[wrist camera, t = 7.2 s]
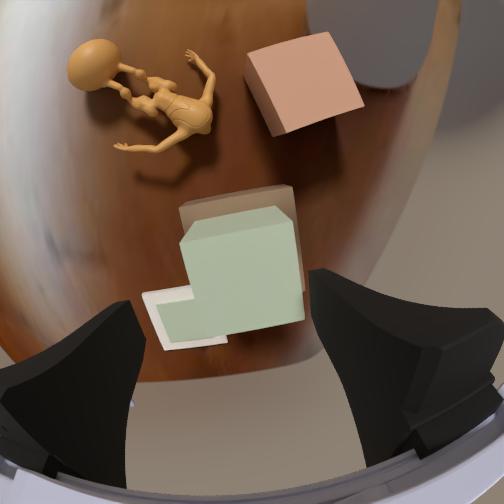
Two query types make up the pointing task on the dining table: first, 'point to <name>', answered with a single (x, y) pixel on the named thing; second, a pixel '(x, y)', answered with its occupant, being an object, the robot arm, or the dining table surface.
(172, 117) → the figurine
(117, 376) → the robot arm
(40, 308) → the dining table surface
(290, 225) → the sage block
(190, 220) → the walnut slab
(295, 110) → the terracotta block
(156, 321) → the swatch
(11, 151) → the dining table surface
